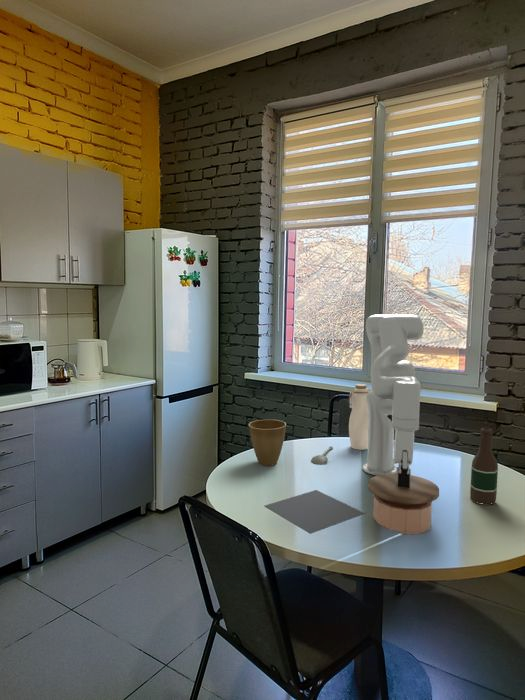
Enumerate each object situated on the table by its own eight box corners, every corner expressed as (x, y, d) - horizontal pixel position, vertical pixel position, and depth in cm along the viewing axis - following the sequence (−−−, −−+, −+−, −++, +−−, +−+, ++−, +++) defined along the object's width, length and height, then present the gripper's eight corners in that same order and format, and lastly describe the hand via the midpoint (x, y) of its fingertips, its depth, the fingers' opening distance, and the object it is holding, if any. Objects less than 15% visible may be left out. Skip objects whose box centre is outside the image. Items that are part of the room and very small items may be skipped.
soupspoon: (308, 466, 192) (324, 469, 189) (309, 458, 191) (325, 461, 189) (324, 448, 212) (338, 451, 209) (324, 441, 211) (339, 443, 209)
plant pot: (269, 454, 203) (269, 417, 201) (293, 463, 191) (293, 424, 190) (241, 461, 193) (241, 423, 192) (264, 472, 182) (264, 430, 180)
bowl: (397, 504, 153) (398, 483, 153) (441, 523, 140) (442, 500, 140) (362, 518, 144) (363, 495, 143) (406, 539, 131) (407, 515, 130)
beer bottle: (494, 497, 159) (498, 426, 157) (497, 507, 152) (501, 433, 149) (469, 494, 162) (472, 424, 159) (470, 503, 154) (474, 430, 152)
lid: (397, 472, 155) (397, 454, 154) (453, 492, 139) (454, 472, 138) (353, 486, 143) (354, 466, 143) (409, 510, 127) (410, 487, 127)
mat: (316, 491, 164) (316, 489, 164) (364, 515, 146) (365, 513, 146) (263, 507, 151) (263, 505, 151) (310, 535, 133) (310, 533, 133)
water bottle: (355, 451, 207) (357, 387, 204) (342, 446, 215) (344, 384, 212) (374, 448, 211) (375, 385, 208) (361, 443, 219) (362, 382, 216)
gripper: (391, 415, 148) (389, 473, 150) (392, 429, 132) (390, 493, 134) (417, 417, 146) (414, 475, 148) (421, 431, 130) (418, 496, 132)
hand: (403, 483), depth 141 cm, fingers closed on lid, 4 cm apart
